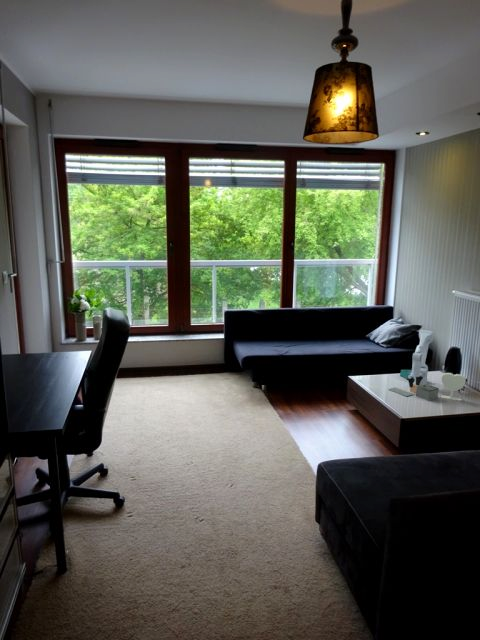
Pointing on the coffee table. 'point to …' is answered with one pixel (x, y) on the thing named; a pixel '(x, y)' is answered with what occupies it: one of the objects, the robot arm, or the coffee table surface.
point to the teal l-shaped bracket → (406, 373)
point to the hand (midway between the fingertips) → (414, 386)
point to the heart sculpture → (453, 383)
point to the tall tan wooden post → (413, 388)
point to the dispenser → (427, 392)
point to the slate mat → (400, 392)
